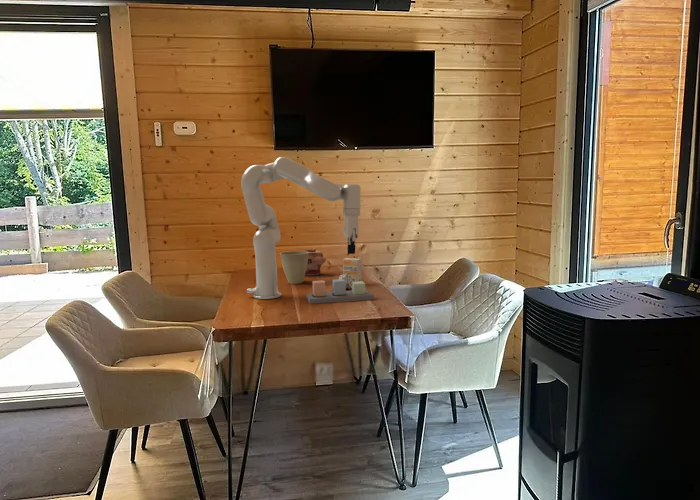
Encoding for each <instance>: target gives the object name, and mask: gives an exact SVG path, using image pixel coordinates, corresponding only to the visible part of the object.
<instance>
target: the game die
mask: <svg viewBox="0 0 700 500" xmlns="http://www.w3.org/2000/svg"><path fill="white" fill-rule="evenodd" d="M349 273H350V272H349ZM338 279H344V280H345V283H346V289H350V290H352V282H353V280H355V279H353V278H352V277H351V276H350V275H349V274H343V273H342V274H341V273H340V272H339V276H338Z"/></svg>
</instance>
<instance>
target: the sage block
mask: <svg viewBox="0 0 700 500" xmlns="http://www.w3.org/2000/svg"><path fill="white" fill-rule="evenodd" d="M351 288H352V289H351V291H352V294H353V295H359V294H365V290H366V283H365V282H364V281H363V280H361V281H358V282H352V286H351Z"/></svg>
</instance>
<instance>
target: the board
mask: <svg viewBox="0 0 700 500" xmlns="http://www.w3.org/2000/svg"><path fill="white" fill-rule="evenodd" d="M305 295H306V297H305V298H306V300H307V302H308V303H309V304H310V305H313V304H314V305H315V304H325V303H326V304H327V303H341V302H343V303H344V302H355V301H356V302H357V301H371V300H374V295H373V294H372V293H371V292H370V291H368V290H367V289H365V294H359V295H353V294H352V290H346V294H345V295H334V294H333V291H326V296H314V295H313V292H309V293H306V294H305Z"/></svg>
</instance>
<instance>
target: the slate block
mask: <svg viewBox="0 0 700 500" xmlns="http://www.w3.org/2000/svg"><path fill="white" fill-rule="evenodd" d="M331 282H332V283H331V284H332V292H333V294H334V295H345V294H346V291H347V288H346V283H345V280H344V279H339V278H338V279H332V281H331Z"/></svg>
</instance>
